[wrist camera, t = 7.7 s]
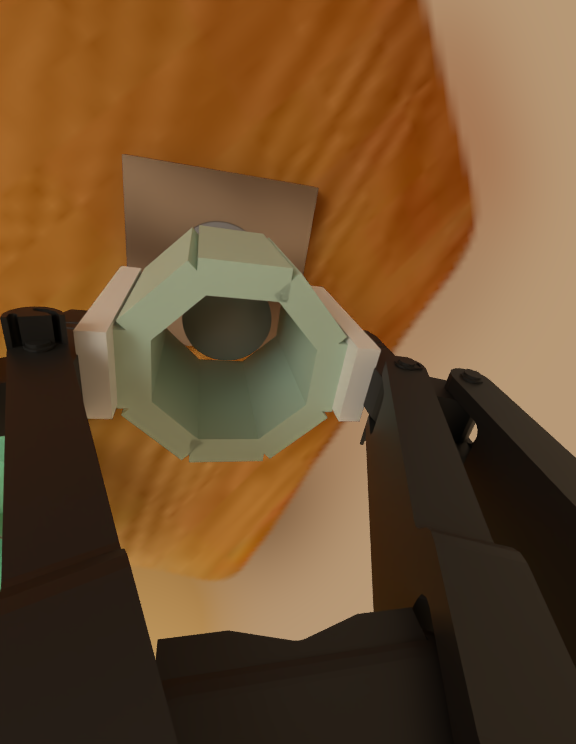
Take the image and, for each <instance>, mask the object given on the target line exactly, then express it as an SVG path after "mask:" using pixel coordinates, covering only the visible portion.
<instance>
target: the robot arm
mask: <svg viewBox="0 0 576 744" xmlns="http://www.w3.org/2000/svg"><path fill="white" fill-rule="evenodd" d="M140 276H141V268H135V267H126V266H121V267H120V268H119V270H118V271H117V272H116V274H115V275H114V276H113V278H112V279H111V280H110V282H109V283H108V284H107V286H106V287H105V288H104V290H103V291H102V292H101V294H100V295H99V296H98V298H97V299H96V300H95V302H94V303H93V304H92V306H91V307H90V309H89V310H88V311H85V310H72V309H71V310H68V311H66V312H64V313H63V312H62V311H60V310H57V309H54V308H48V307H23V308H17V309H13V310H9V311H7V312H5V313H3V314H2V315H1V317H0V320H1V324H2V329H3V334H4V338H5V343H6V348H7V357H3V358H0V437H1V436H5V445H4V486H3V528H2V569H1V590H0V744H576V458H575V457H574V456H573V455H572V454H571V453H570V452H569V451H568V450H566V449H565V448H564V447H563V446H562V445H561V444H560V443H559V442H558V441H556V440H555V439H554V438H553V437H552V436H551V435H550V434H549V433H548V432H547V431H546V430H544V429H543V428H542V427H541V426H540V425H539V424H538V423H537V422H536V421H535V420H533V419H532V418H531V417H530V416H529V415H528V414H527V413H525V412H524V411H523V410H522V409H521V408H520V407H519V406H518V405H517V404H516V403H515V402H514V401H512V400H511V399H510V398H509V397H508V396H507V395H506V394H505V393H504V392H502V391H501V390H500V389H499V388H498V387H497V386H496V385H495V384H494V383H493V382H491V381H490V380H489V379H488V378H486V377H485V376H483V375H481V374H480V373H479V372H477V371H473V370H470V369H460V368H458V369H457V368H455V369H453V370H451V372H450V374H449V377H448V379H447V381H446V380H441V379H437V378H432V377H429V375H428V373H427V370H426V368H425V367H424V366H423V365H422V364H420V363H419V362H417V361H414V360H413V359H410V358H408V357H400V356H395V355H394V354H393V353H392V352H391V351H390V350H389V349H388V348H386V346H385V345H384V344H383V343H382V342H381V341H380V340H379V339H378V338H377V337H376V336H375V335H373V334H371V333H370V332H368V331H365V330H362V329H361V328H360V326H359V325H358V324H357V323H356V322H355V321H354V320H353V319H352V318H351V317H350V316H349V315H348V314H347V312H346V311H345V310H344V309H343V308H342V307H341V306H340V305H339V304H338V303H337V302H336V301H335V300H334V298H333V297H332V296H331V295H330V294H329V293H328V292H327V291H326V290H325V289H324V288H323V287H318V286H311V287H312V289H313V290H314V291H315V293H316V294H317V296H318V297H319V298H320V300H321V301H322V303H323V304H324V305H325V307H326V308H327V310H328V311H329V312H330V314H331V315H332V317H333V318H334V319H335V321H336V322H337V324H338V325H339V326H340V328H341V329H342V331H343V332H344V333H345V335H346V336H347V338H345V339H344V340H345V342H346V343H347V344H348V346H347V350H346V354H345V358H344V362H343V366H342V371H341V375H340V379H339V383H338V387H337V391H336V395H335V399H334V403H333V407H332V409H333V411H334V413H335V415H336V417H337V419H338V421H358V422H359V421H360V418H361V415H362V411H363V408H364V407H365V408H366V410H367V412H368V413H369V416H368V420H367V423H366V426H365V429H364V432H363V436H362V439H361V442H360V444H361V445H363V444H364V441H366V451H367V473H368V494H369V495H368V496H369V518H370V540H371V562H372V584H373V607H374V612H370V613H362V614H357V615H354V616H352V617H350V618H348V619H346V620H344V621H342V622H340V623H338V624H336V625H333V626H331V627H329V628H327V629H325V630H323V631H321V632H319V633H317V634H315V635H313V636H310V637H308V638H306V639H304V640H300V641H292V640H286V639H279V638H273V637H266V636H260V635H253V634H247V633H241V632H234V631H221V632H213V633H205V634H197V635H189V636H182V637H174V638H166V639H158V642H157V652H156V660H155V656H154V652H153V649H152V645H151V641H150V637H149V634H148V630H147V626H146V623H145V619H144V615H143V611H142V608H141V604H140V600H139V596H138V593H137V589H136V585H135V581H134V578H133V574H132V570H131V566H130V563H129V560H128V556H127V553H126V551H125V549H121V547H120V544H119V540H118V536H117V532H116V529H115V525H114V521H113V517H112V513H111V509H110V505H109V501H108V497H107V493H106V489H105V485H104V481H103V478H102V474H101V470H100V466H99V462H98V458H97V454H96V450H95V446H94V442H93V438H92V434H91V430H90V427H89V423H88V419H113V416H114V413H115V410H116V407H117V388H116V373H115V357H114V341H113V328H114V326H115V324H116V323H117V322H116V320H117V318H118V316H119V314H120V312H121V310H122V309H123V307H124V305H125V303H126V301H127V299H128V298H129V296H130V294H131V292H132V290H133V288H134V287H135V285H136V283H137V281H138V279H139V277H140ZM475 423H476V425H477V429H478V433H477V437H476V440H475V441H474V442H472V441H471V440H470V439H469V435H470V433H471V431H472V429H473V427H474V425H475Z"/></svg>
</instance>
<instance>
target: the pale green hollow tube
mask: <svg viewBox="0 0 576 744" xmlns="http://www.w3.org/2000/svg"><path fill="white" fill-rule="evenodd" d="M206 295H207V296H218V297H229V298H240V299H252V300H263V301H274V302H279V303H280V304H281V307H280V314H279V320H278V327H277V334H276V336H275V337H274V338H273V339H271V340H270V341H269V342H268V343H266V344H265V345H264V346H262V347H261V348H260V349H258V350H257V351H256V352H255V353H253V354H252V355H251V356H249V357H248V358H247V359H245V360H244V361H243V362H241V361H220V360H200V359H198V358H197V357H196V356H195V355H194V354H193V353H192V352H191V351H190V350H189V349H188V348H187V347H186V346H185V345H184V344H183V343H181V342H180V341H179V340H178V339H177V338H176V337H175V336H174V335H173V334H172V333H171V332H170V331H169V330H168V329H167V327H168V326H169V325H170V324H172V323H173V322H174V321H175V320H177V319H178V318H179V317H180V316H181V315H183V314H184V313H185V312H186V311H188V310H189V309H190V308H191V307H192V306H194V305H195V304H196V303H197V302H199V301H200V300H201V299H202V298H204V297H205V296H206ZM116 322H117V323H116V324H115V326H114V328H113V341H114V357H115V373H116V388H117V408H123V411H122V414H121V415H122V416H123V417H124V418H126V419H127V420H128V421H130V422H131V423H132V424H134V425H135V426H136V427H138V428H139V429H140V430H142V431H143V432H144V433H146V434H147V435H148V436H150V437H151V438H152V439H154V440H155V441H157V442H158V443H159V444H161V445H162V446H163V447H165V448H166V449H167V450H169V451H170V452H171V453H173V454H174V455H175V456H177V457H178V458H179V459H181V460H182V459H183V458H185V457H186V456H187V455H189V462H233V461H263V455H264V454H265V455H266V456H267V457H269V458H271V457H273V456H274V455H276V454H277V453H279V452H280V451H281V450H283V449H284V448H286V447H287V446H288V445H290V444H291V443H293V442H294V441H295V440H297V439H298V438H300V437H301V436H303V435H304V434H305V433H307V432H308V431H310V430H311V429H312V428H314V427H315V426H317V425H318V424H319V423H321V422H322V421H324V420H325V419H327V416H326V414H325V412H332V407H333V403H334V399H335V395H336V391H337V387H338V383H339V379H340V375H341V371H342V366H343V362H344V358H345V354H346V350H347V346H348V344H347V343H346V342H345V340H344V339H345V338H347V336H346V335H345V333H344V332H343V331H342V329H341V328H340V326H339V325H338V324H337V322H336V321H335V319H334V318H333V317H332V315H331V314H330V312H329V311H328V310H327V308H326V307H325V305H324V304H323V303H322V301H321V300H320V298H319V297H318V296H317V294H316V293H315V291H314V290H313V289H312V287H311V286H310V284H309V283H308V282H307V280H306V279H305V277H304V276H303V275H302V273H301V272H300V271H299V270H298V269H297V268H296V267H295V266H294V264H293V263H292V262H291V261H290V260H289V259H288V258H287V257H286V256H285V254H284V253H283V252H282V251H281V250H280V249H279V248H278V247H277V246H276V245H275V243H274V242H273V241H272V240H271V239H270V238H266V236H265V235H264V234H261V233H253V232H246V231H239V230H231V229H224V228H216V227H209V226H202V225H199V234H198V233H197V232H196V231H195V229H194V228H193V227H192V228H191V229H190V230H189V231H187V232H186V233H185V234H184V235H183V236H182V237H180V238H179V239H178V240H177V241H176V242H175V243H173V244H172V245H171V246H170V247H169V248H168V249H166V250H165V251H164V252H163V253H162V254H161V255H159V256H158V257H157V258H156V259H155V260H154V261H152V262H151V263H150V264H149V265H148V266H147V267H145V268H144V270H143V272H142V274H141V276H140V277H139V279H138V281H137V283H136V285H135V287H134V288H133V290H132V292H131V294H130V296H129V298H128V299H127V301H126V303H125V305H124V307H123V309H122V310H121V312H120V314H119V316H118V318H117V320H116Z"/></svg>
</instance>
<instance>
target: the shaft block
mask: <svg viewBox="0 0 576 744" xmlns="http://www.w3.org/2000/svg"><path fill="white" fill-rule="evenodd" d="M122 164H123V187H124V209H125V232H126V254H127V267H135V268H141V274H142V272H143V270H144V268H145V267H147V266H148V265H149V264H150V263H151V262H152V261H154V260H155V259H156V258H157V257H158V256H159V255H161V254H162V253H163V252H164V251H165V250H166V249H168V248H169V247H170V246H171V245H172V244H173V243H175V242H176V241H177V240H178V239H179V238H180V237H182V236H183V235H184V234H185V233H186V232H187V231H189V230H190V229H191V228H192V227H193V228H194V229H195V231H196V232H197V233H198V234H199V225H202V226H209V227H216V228H224V229H231V230H239V231H246V232H253V233H261V234H264V235H265V236H266V238H270V239H271V240H272V241H273V242H274V243H275V245H276V246H277V247H278V248H279V249H280V250H281V251H282V252H283V253H284V254H285V256H286V257H287V258H288V259H289V260H290V261H291V262H292V263H293V264H294V266H295V267H296V268H297V269H298V270H299V271H300V272H301V273H302V275H303V273H304V267H305V261H306V256H307V250H308V245H309V239H310V233H311V228H312V222H313V216H314V211H315V205H316V200H317V194H318V188H316V187H312V186H306V185H301V184H295V183H289V182H283V181H277V180H272V179H266V178H260V177H254V176H248V175H243V174H237V173H231V172H225V171H220V170H214V169H208V168H202V167H196V166H191V165H185V164H179V163H173V162H167V161H162V160H156V159H150V158H144V157H138V156H133V155H127V154H122ZM280 307H281V304H280V303H279V302H274V301H263V300H252V299H240V298H229V297H218V296H207V295H206V296H205V297H204V298H202V299H201V300H200V301H199V302H197V303H196V304H195V305H194V306H192V307H191V308H190V309H189V310H188V311H186V312H185V313H184V314H183V315H181V316H180V317H179V318H178V319H177V320H175V321H174V322H173V323H172V324H170V325H169V326H168V327H167V329H168V330H169V331H170V332H171V333H172V334H173V335H174V336H175V337H176V338H177V339H178V340H179V341H180V342H181V343H183V344H184V345H187V346H194V348H196V349H197V350H198V351H199V352H201V353H202V354H204V355H206V356H208V357H211V358H214V359H218V360H236V359H240V358H243V357H246V356H248V355H250V354H251V353H253V352H254V351H256V350H257V349H260V348H261V347H262V346H264V345H265V344H266V343H268V342H269V341H270V340H271V339H273V338H274V337H275V336H276V334H277V327H278V320H279V314H280Z"/></svg>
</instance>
